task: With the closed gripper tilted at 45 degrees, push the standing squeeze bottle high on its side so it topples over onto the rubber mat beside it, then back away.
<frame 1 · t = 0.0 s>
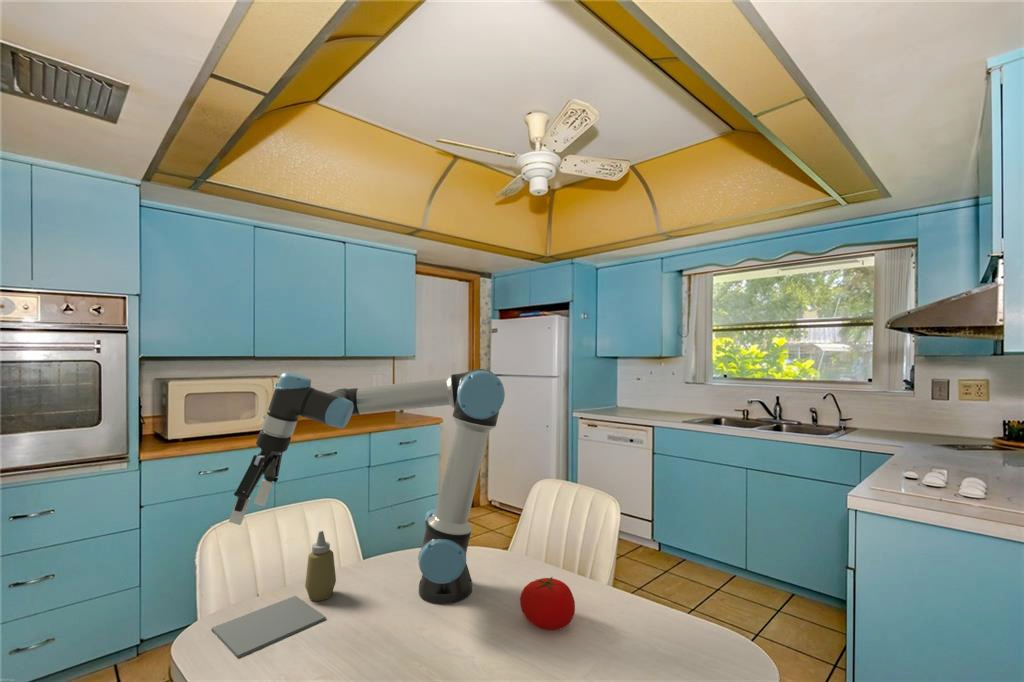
hand: (247, 513, 125), 28 cm above the table, tool tilted 20°, fingers open, 13 cm apart
squeeze bottle: (320, 597, 139), on the table
tomato: (548, 624, 125), on the table
rubber mat: (269, 624, 125), on the table
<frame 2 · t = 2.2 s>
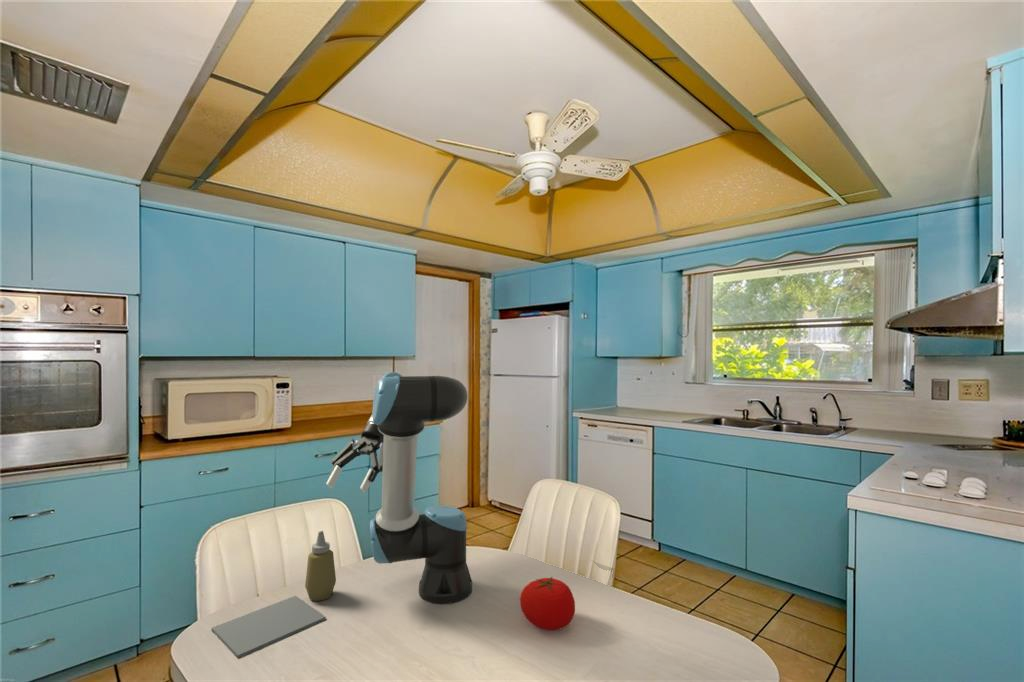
hand: (345, 488, 148), 27 cm above the table, tool tilted 45°, fingers open, 12 cm apart
nothing on the table moved.
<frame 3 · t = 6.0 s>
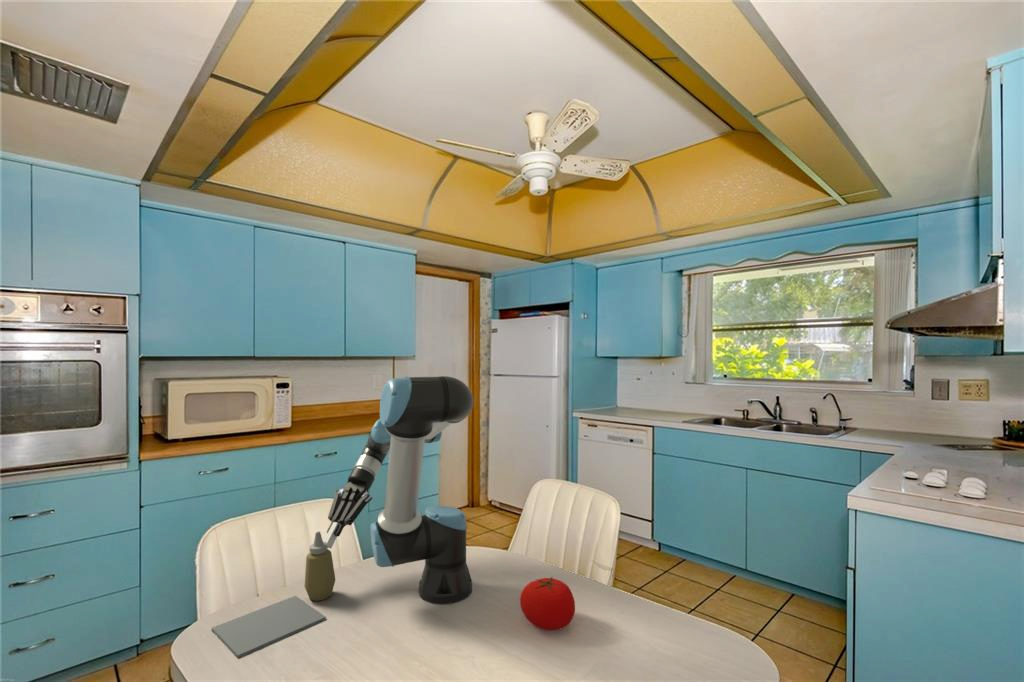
hand: (326, 545, 142), 13 cm above the table, tool tilted 45°, fingers closed
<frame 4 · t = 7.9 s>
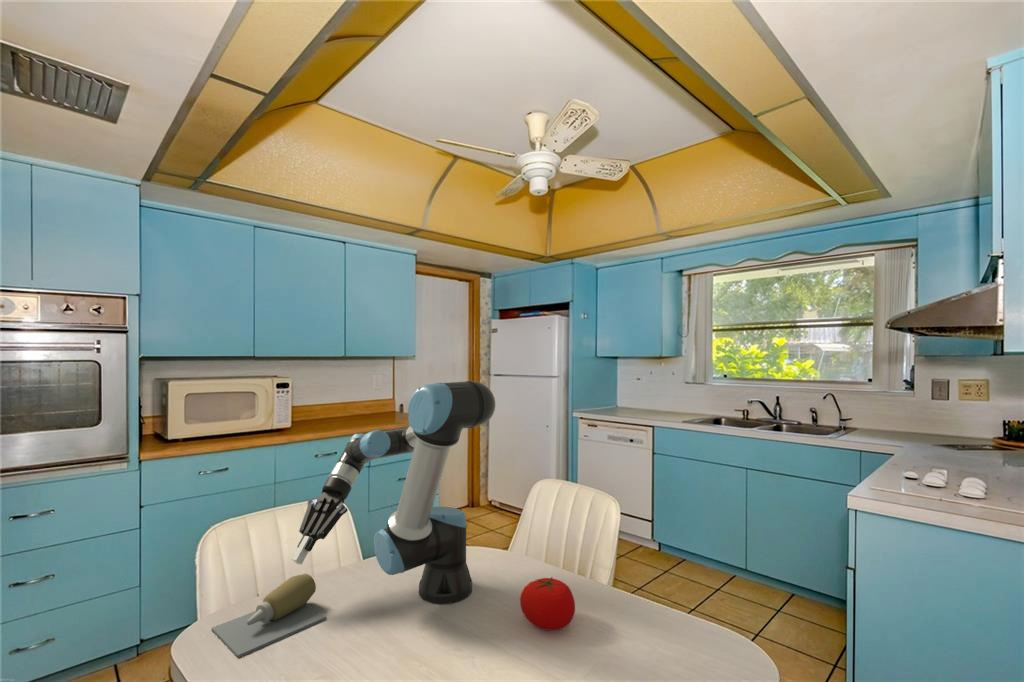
hand: (296, 562, 131), 13 cm above the table, tool tilted 45°, fingers closed
squeeze bottle: (309, 583, 136), point 5 cm above the table, touching rubber mat
everything else where it was.
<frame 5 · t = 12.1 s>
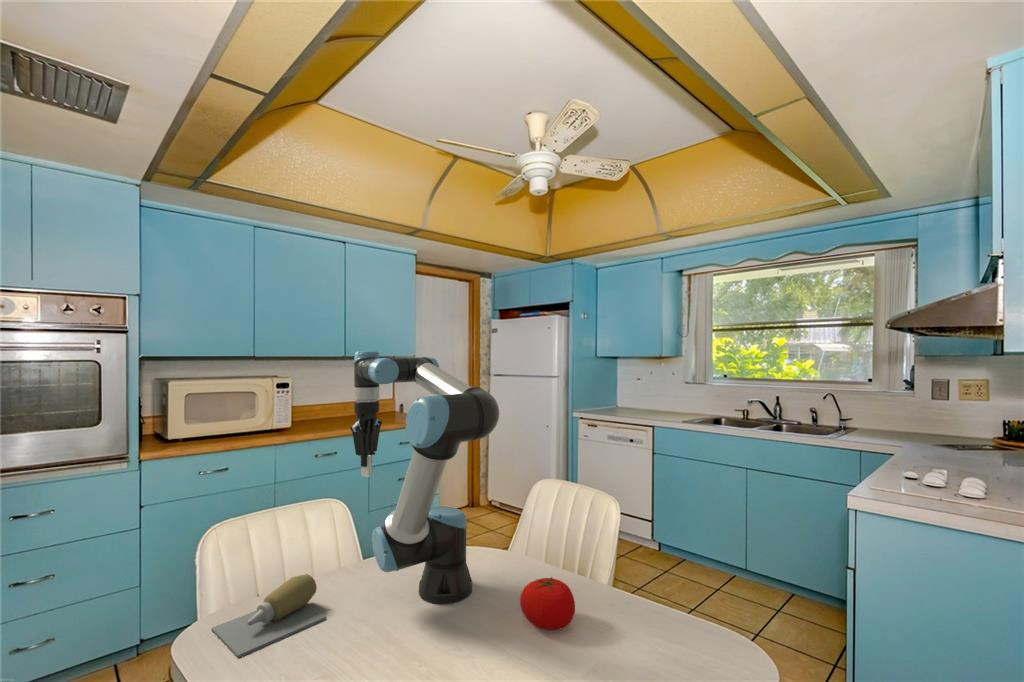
hand: (366, 476, 154), 29 cm above the table, tool pointing down, fingers closed
nothing on the table moved.
at the end: squeeze bottle tilted 95°; squeeze bottle touching rubber mat; squeeze bottle inside the target area (8.2 cm from its centre), point 4.9 cm above the table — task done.
